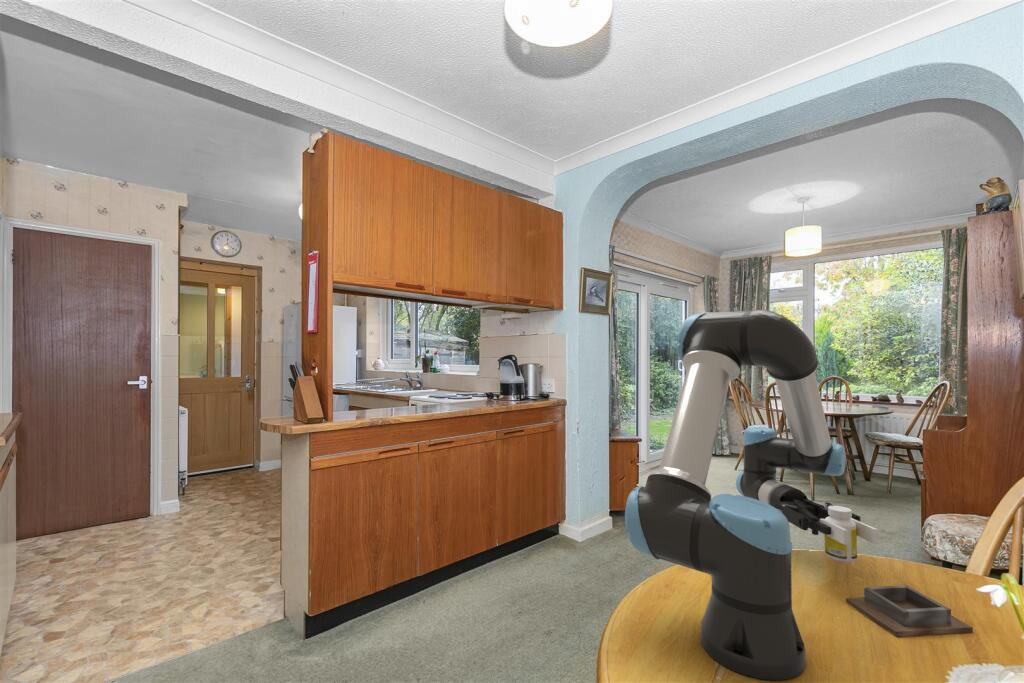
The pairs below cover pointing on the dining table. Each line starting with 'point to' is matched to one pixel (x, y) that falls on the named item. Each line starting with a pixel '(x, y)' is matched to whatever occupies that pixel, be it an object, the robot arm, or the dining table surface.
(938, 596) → the dining table surface
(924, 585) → the dining table surface
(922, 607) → the collar holder
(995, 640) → the dining table surface
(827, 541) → the supplement bottle
